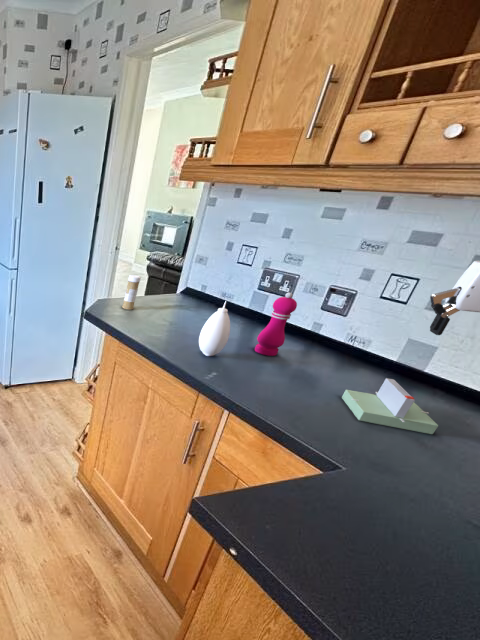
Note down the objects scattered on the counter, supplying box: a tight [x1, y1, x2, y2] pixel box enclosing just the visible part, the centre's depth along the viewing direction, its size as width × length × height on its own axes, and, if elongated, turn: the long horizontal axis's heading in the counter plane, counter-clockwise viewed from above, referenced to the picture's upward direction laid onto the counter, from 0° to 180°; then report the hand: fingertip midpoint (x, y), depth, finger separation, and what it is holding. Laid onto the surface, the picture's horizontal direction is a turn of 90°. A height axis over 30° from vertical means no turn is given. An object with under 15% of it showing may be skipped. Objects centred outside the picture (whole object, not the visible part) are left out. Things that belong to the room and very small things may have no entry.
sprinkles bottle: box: [122, 274, 142, 310], centre depth 169 cm, size 5×5×14 cm
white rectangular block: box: [375, 377, 416, 418], centre depth 101 cm, size 11×2×5 cm, turn 157°
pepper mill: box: [254, 291, 298, 357], centre depth 131 cm, size 7×7×20 cm
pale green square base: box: [341, 389, 439, 435], centre depth 103 cm, size 15×15×3 cm
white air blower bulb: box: [198, 300, 231, 357], centre depth 128 cm, size 8×8×18 cm
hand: (463, 336), depth 91 cm, fingers open, 9 cm apart
